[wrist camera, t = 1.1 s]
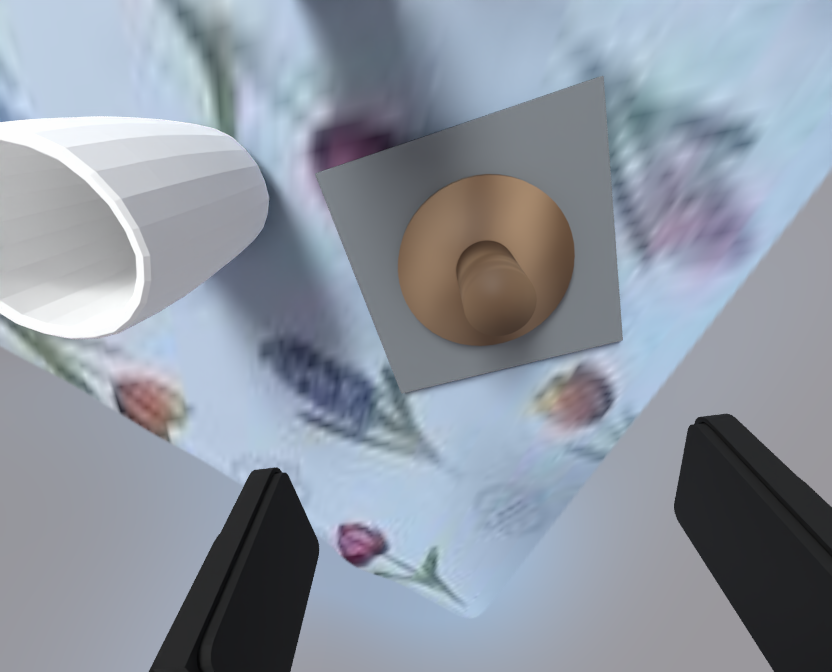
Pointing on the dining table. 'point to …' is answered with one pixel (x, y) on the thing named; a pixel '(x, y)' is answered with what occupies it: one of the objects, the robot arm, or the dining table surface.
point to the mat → (475, 155)
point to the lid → (485, 260)
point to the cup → (117, 218)
